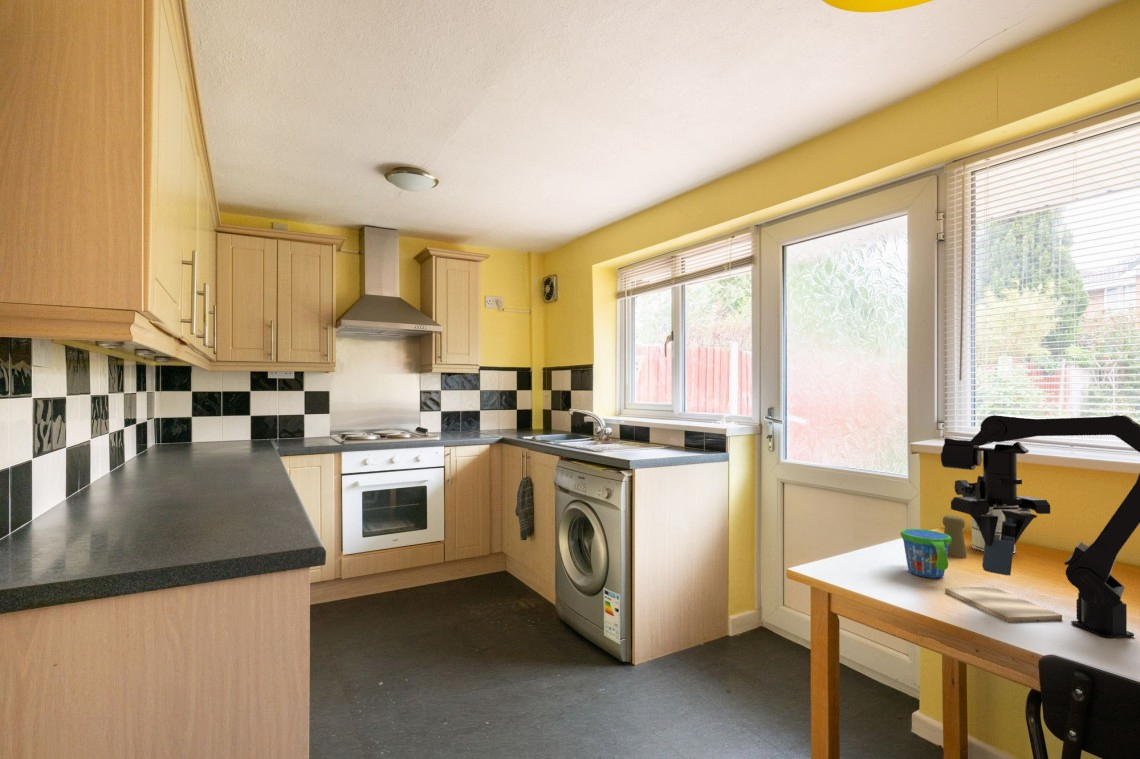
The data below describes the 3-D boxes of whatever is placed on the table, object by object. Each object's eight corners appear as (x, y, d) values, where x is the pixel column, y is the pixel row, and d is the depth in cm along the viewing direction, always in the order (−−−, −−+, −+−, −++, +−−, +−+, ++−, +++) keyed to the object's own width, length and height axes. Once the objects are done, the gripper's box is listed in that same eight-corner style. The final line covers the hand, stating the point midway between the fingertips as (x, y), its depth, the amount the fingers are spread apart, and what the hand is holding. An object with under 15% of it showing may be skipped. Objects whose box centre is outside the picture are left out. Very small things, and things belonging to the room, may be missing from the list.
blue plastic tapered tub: (891, 562, 147) (891, 524, 147) (936, 566, 144) (936, 527, 144) (913, 582, 132) (913, 540, 132) (964, 587, 129) (963, 543, 129)
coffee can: (969, 542, 167) (969, 496, 167) (1012, 548, 161) (1012, 500, 162) (972, 551, 158) (972, 502, 158) (1018, 557, 153) (1018, 506, 153)
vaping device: (1013, 576, 116) (1020, 520, 117) (985, 571, 117) (991, 515, 118) (1007, 573, 119) (1013, 518, 119) (979, 568, 120) (985, 513, 120)
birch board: (1062, 620, 111) (1062, 615, 111) (1008, 622, 110) (1008, 617, 110) (992, 590, 127) (992, 586, 127) (945, 592, 125) (945, 588, 125)
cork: (935, 553, 156) (935, 514, 156) (949, 550, 158) (949, 512, 158) (958, 559, 150) (958, 519, 150) (971, 556, 153) (971, 517, 153)
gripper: (1005, 467, 128) (1005, 534, 127) (931, 467, 126) (931, 536, 125) (1052, 474, 117) (1052, 548, 116) (972, 475, 115) (972, 550, 114)
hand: (1000, 545), depth 118 cm, fingers closed on vaping device, 5 cm apart
